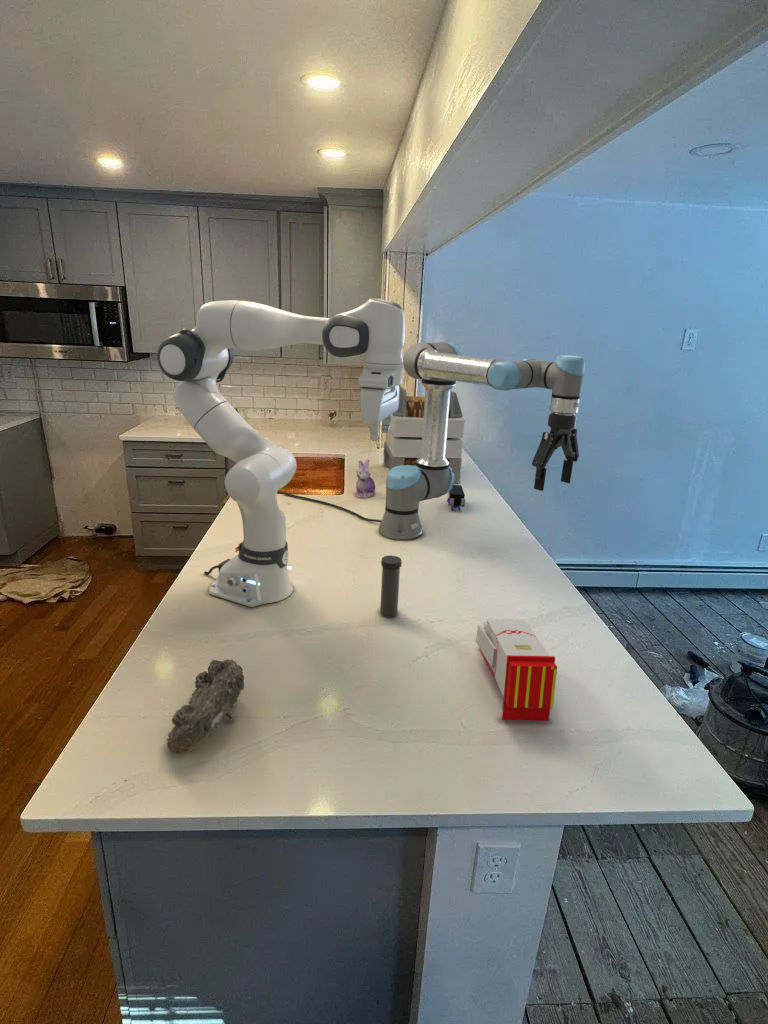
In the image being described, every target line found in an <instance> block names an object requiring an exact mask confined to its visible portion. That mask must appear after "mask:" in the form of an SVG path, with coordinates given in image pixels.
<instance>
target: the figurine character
mask: <svg viewBox="0 0 768 1024" xmlns="http://www.w3.org/2000/svg"><path fill="white" fill-rule="evenodd" d="M446 495H447V496H446V497H447V500H446V503H447V504H448V506H449V508H450V509H451V511H454V509H458V511H461V510H462V509H461V508H465V505H466V497H465V496H466V494H465V492H464V488H463V486H462V485H461V484H453V487H452V489H451V490H450V491H449V492H448V493H447V494H446Z"/></svg>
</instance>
